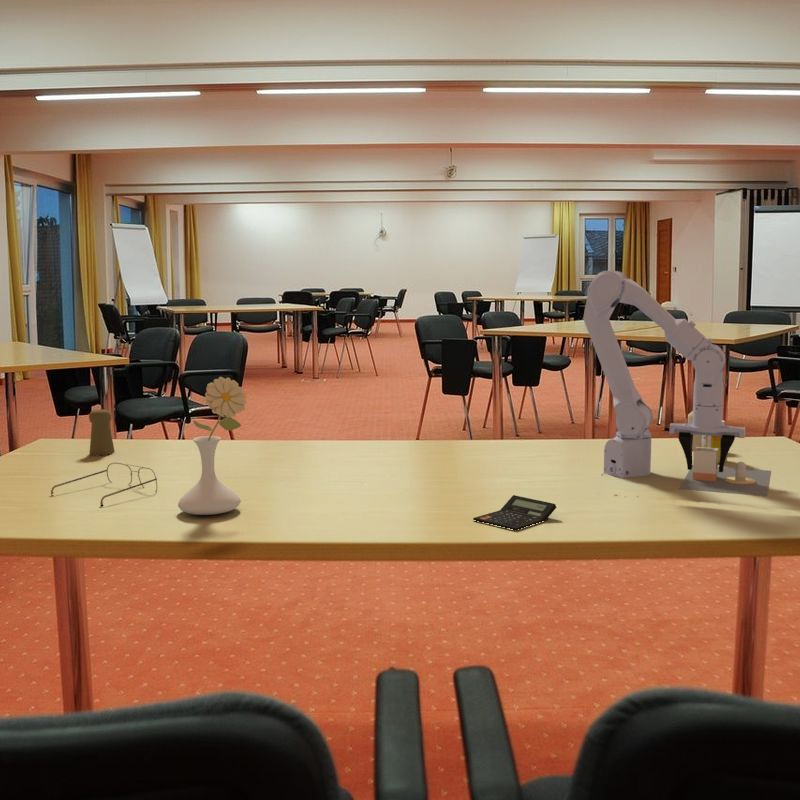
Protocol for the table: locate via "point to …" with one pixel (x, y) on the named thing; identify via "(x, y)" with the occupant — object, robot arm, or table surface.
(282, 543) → the table surface
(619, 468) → the robot arm
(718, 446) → the supplement bottle
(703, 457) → the sleeve
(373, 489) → the table surface
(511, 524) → the calculator
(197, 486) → the flower in vase
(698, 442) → the beige bottle
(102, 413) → the brown tapered column
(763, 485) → the pin board
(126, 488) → the eyeglasses
